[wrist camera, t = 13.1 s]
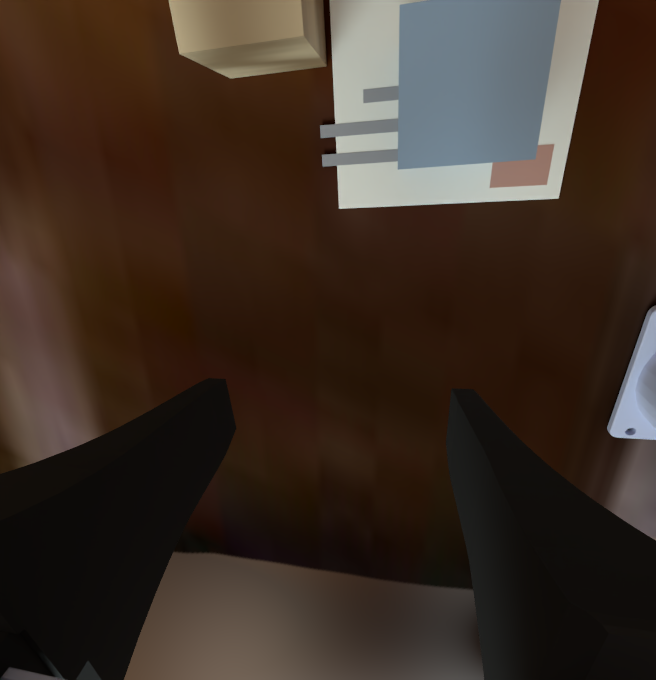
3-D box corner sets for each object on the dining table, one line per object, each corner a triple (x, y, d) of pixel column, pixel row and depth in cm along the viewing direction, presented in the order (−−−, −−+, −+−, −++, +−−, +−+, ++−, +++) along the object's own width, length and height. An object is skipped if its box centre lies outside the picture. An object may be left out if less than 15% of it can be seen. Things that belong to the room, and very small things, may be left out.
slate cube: (517, 30, 14) (564, -21, 10) (501, 159, 16) (535, 159, 12) (399, 46, 15) (399, 4, 11) (397, 167, 17) (397, 169, 13)
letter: (605, -41, 13) (607, -44, 13) (557, 198, 16) (558, 198, 16) (313, 3, 15) (312, 2, 15) (326, 208, 18) (325, 209, 18)
